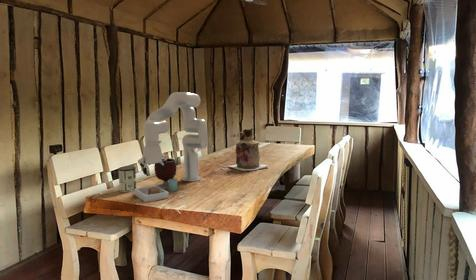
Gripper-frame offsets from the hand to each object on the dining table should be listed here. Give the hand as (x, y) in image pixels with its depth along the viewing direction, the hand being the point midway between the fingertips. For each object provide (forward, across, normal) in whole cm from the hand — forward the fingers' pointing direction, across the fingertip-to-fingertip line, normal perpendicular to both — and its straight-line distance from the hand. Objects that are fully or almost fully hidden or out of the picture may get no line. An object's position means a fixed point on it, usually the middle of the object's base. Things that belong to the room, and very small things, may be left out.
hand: (153, 173), depth 211 cm
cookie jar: (+17, -93, -38) cm, 102 cm away
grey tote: (+15, +1, -4) cm, 15 cm away
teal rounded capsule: (+15, -15, -8) cm, 23 cm away
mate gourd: (+15, -15, -22) cm, 31 cm away
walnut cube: (+14, 0, 0) cm, 14 cm away
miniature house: (+15, +8, -26) cm, 31 cm away
